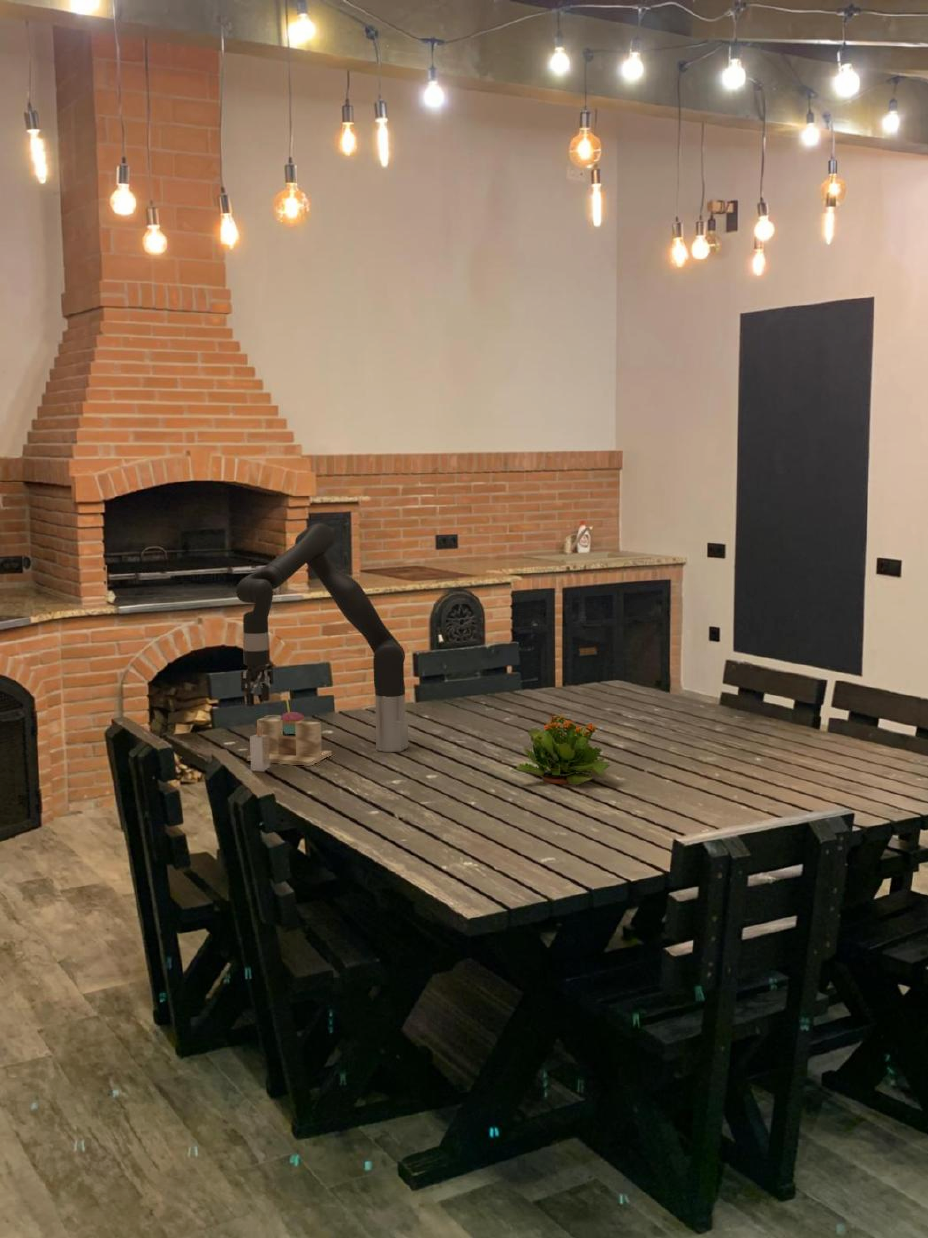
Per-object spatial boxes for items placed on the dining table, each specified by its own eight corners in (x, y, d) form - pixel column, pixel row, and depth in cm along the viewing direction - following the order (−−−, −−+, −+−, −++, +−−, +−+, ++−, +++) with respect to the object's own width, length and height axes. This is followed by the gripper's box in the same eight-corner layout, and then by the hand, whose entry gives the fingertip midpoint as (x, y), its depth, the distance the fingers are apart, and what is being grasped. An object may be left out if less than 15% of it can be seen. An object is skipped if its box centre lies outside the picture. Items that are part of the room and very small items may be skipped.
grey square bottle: (270, 768, 361) (268, 724, 359) (263, 771, 357) (261, 727, 355) (258, 767, 362) (256, 723, 361) (251, 770, 359) (249, 726, 357)
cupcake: (274, 734, 405) (272, 698, 403) (289, 729, 412) (288, 694, 411) (295, 737, 401) (294, 700, 399) (310, 731, 408) (309, 696, 407)
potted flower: (527, 794, 330) (527, 730, 328) (501, 773, 353) (500, 712, 350) (614, 786, 337) (615, 723, 334) (583, 766, 359) (583, 707, 357)
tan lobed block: (331, 756, 375) (330, 718, 373) (310, 767, 362) (308, 728, 360) (270, 750, 382) (269, 714, 381) (247, 761, 369) (246, 723, 368)
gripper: (255, 652, 347) (256, 708, 349) (280, 644, 360) (281, 699, 363) (231, 651, 350) (233, 707, 352) (257, 643, 363) (259, 697, 365)
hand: (258, 703), depth 357 cm, fingers open, 8 cm apart
